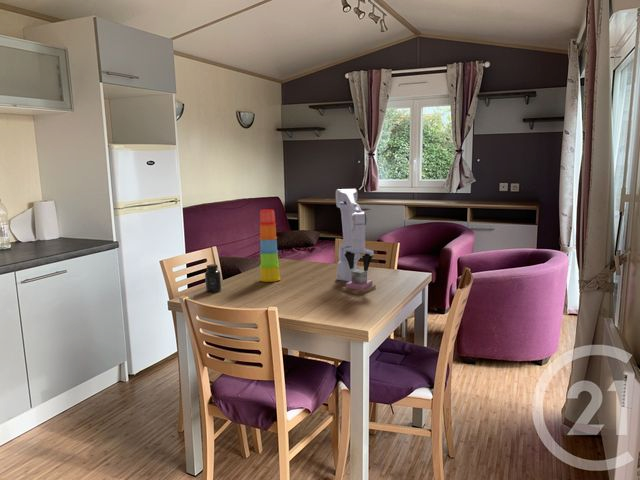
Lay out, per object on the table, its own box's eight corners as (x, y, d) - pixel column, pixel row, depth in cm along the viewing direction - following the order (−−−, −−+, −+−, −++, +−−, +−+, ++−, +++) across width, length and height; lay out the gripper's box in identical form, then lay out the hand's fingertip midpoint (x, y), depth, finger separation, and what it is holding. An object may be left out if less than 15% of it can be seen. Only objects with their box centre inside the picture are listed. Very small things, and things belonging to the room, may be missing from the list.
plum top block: (345, 287, 217) (345, 283, 216) (357, 282, 225) (357, 278, 224) (361, 290, 212) (361, 285, 212) (372, 284, 220) (372, 280, 220)
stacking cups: (256, 281, 237) (252, 210, 231) (266, 276, 246) (263, 208, 240) (275, 283, 233) (272, 211, 227) (284, 278, 242) (282, 209, 236)
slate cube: (351, 282, 218) (351, 271, 217) (357, 279, 222) (357, 269, 221) (361, 283, 215) (360, 272, 214) (367, 281, 218) (366, 270, 218)
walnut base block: (342, 293, 217) (342, 287, 217) (357, 287, 226) (357, 281, 226) (361, 296, 211) (361, 291, 211) (375, 290, 220) (375, 284, 220)
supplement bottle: (224, 289, 224) (222, 264, 222) (216, 293, 218) (214, 267, 216) (211, 288, 226) (209, 263, 224) (203, 292, 220) (201, 266, 218)
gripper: (339, 239, 216) (340, 269, 218) (367, 242, 207) (367, 273, 210) (348, 237, 222) (349, 266, 224) (376, 240, 213) (376, 270, 215)
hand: (358, 269), depth 217 cm, fingers open, 7 cm apart
